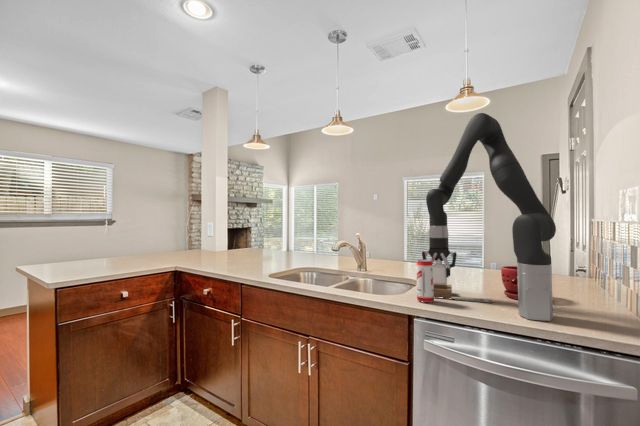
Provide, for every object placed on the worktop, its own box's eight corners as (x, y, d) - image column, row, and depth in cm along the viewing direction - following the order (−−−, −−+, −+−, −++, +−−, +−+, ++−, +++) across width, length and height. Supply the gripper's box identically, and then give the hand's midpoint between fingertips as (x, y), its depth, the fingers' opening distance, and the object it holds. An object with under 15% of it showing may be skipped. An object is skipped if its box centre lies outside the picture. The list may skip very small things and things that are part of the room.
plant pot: (549, 301, 118) (548, 269, 119) (513, 301, 119) (513, 270, 119) (526, 293, 131) (526, 264, 132) (495, 293, 132) (494, 265, 132)
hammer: (493, 303, 117) (493, 294, 117) (427, 298, 127) (426, 289, 127) (490, 295, 128) (490, 287, 128) (429, 291, 138) (429, 283, 138)
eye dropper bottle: (444, 285, 128) (443, 256, 128) (431, 283, 131) (430, 255, 131) (448, 283, 131) (447, 255, 131) (434, 282, 135) (434, 254, 135)
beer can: (431, 299, 125) (430, 259, 125) (435, 303, 118) (434, 261, 119) (415, 299, 125) (414, 259, 125) (419, 303, 119) (417, 261, 119)
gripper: (419, 236, 131) (420, 277, 131) (457, 237, 125) (458, 279, 125) (421, 235, 138) (422, 274, 137) (457, 236, 132) (458, 276, 132)
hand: (439, 276), depth 131 cm, fingers closed on eye dropper bottle, 5 cm apart
